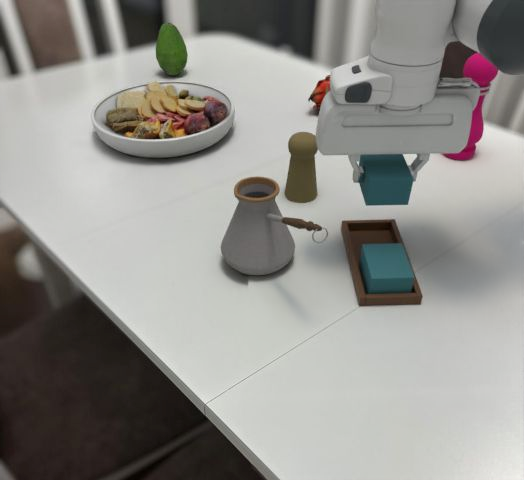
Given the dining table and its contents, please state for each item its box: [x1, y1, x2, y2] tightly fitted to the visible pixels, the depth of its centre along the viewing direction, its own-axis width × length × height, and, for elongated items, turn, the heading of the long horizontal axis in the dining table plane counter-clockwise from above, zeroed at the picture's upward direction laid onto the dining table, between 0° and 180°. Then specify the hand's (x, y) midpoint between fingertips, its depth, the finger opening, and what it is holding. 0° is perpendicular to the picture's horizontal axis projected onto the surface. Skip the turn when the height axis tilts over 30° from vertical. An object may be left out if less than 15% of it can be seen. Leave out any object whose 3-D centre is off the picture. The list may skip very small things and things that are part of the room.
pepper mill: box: [442, 52, 499, 161], centre depth 100 cm, size 7×7×20 cm
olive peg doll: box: [284, 131, 319, 204], centre depth 93 cm, size 6×6×11 cm
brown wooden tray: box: [340, 218, 423, 307], centre depth 81 cm, size 9×19×2 cm, turn 2°
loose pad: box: [358, 154, 414, 207], centre depth 76 cm, size 6×8×4 cm
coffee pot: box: [220, 175, 329, 276], centre depth 75 cm, size 21×12×15 cm, turn 31°
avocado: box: [155, 21, 189, 76], centre depth 133 cm, size 8×8×12 cm
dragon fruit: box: [307, 74, 331, 112], centre depth 118 cm, size 8×8×12 cm
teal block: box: [359, 243, 415, 294], centre depth 77 cm, size 6×8×4 cm
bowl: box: [90, 80, 236, 159], centre depth 112 cm, size 30×30×8 cm
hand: (383, 180), depth 76 cm, fingers closed on loose pad, 6 cm apart
